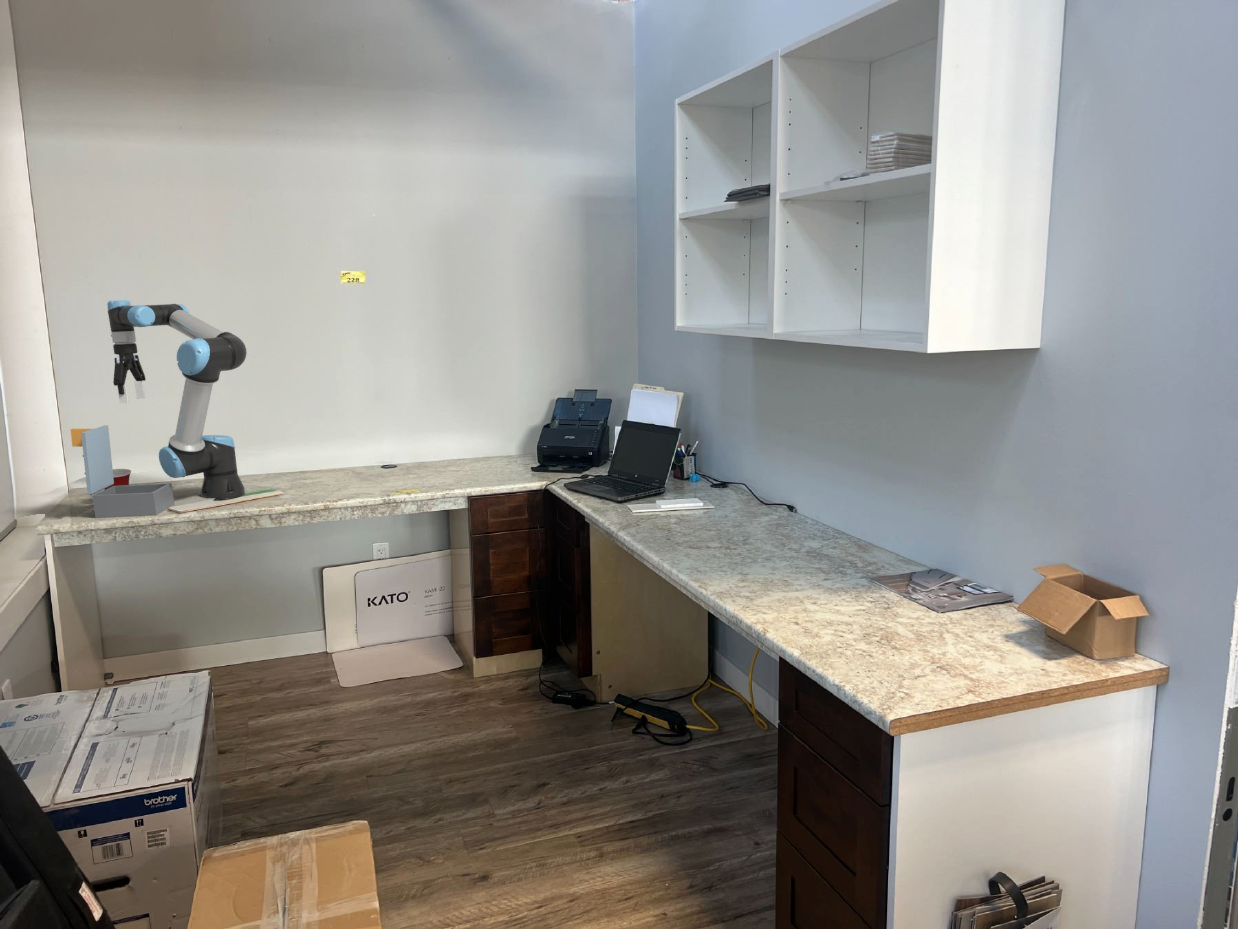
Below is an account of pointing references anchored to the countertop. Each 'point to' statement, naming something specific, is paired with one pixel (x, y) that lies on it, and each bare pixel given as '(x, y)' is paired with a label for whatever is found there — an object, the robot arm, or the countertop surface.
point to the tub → (133, 500)
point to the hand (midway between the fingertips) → (132, 400)
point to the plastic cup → (120, 477)
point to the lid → (95, 457)
